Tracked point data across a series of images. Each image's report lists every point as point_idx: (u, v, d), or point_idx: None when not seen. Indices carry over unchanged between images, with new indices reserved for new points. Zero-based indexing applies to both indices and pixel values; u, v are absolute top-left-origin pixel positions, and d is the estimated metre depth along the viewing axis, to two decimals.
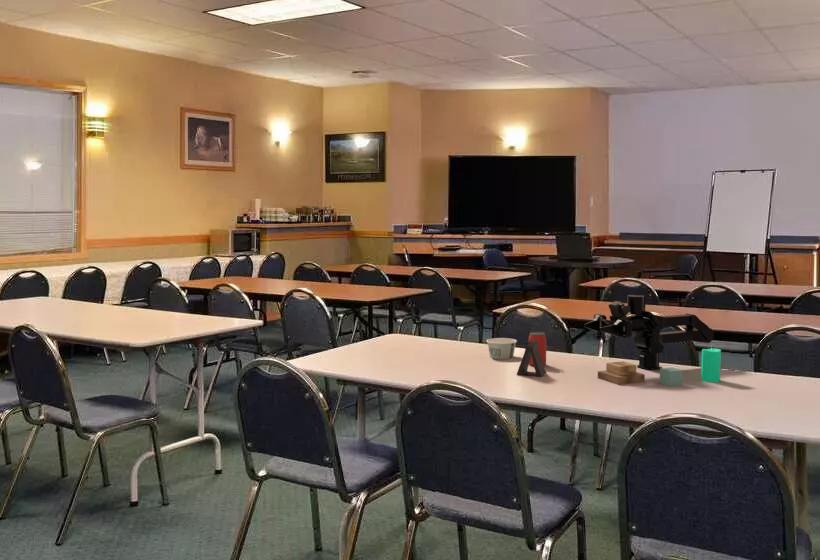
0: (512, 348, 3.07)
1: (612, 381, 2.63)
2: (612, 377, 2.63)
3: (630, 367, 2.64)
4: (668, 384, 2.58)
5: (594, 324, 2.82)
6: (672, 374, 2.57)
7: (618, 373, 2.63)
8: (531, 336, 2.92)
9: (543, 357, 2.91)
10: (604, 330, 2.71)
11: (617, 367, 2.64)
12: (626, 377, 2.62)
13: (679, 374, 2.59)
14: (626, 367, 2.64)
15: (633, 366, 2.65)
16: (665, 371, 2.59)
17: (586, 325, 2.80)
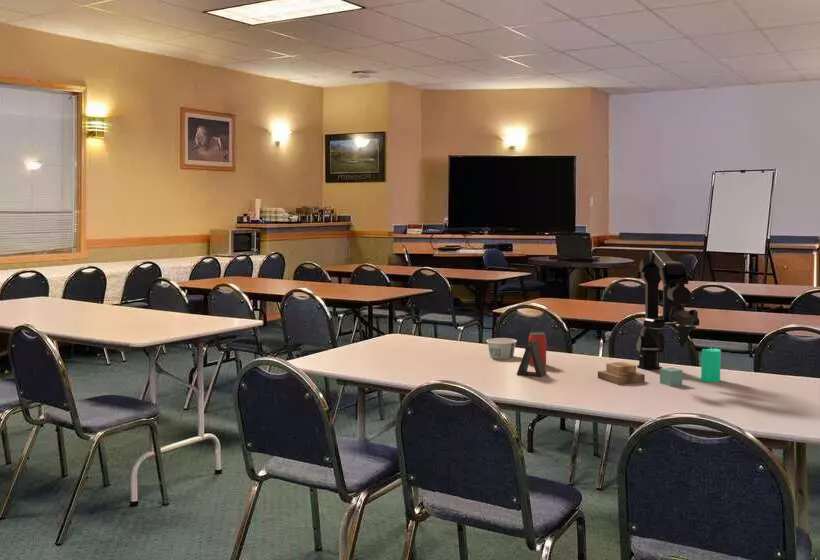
0: (512, 348, 3.07)
1: (612, 381, 2.63)
2: (612, 377, 2.63)
3: (630, 367, 2.64)
4: (668, 384, 2.58)
5: None
6: (672, 374, 2.57)
7: (618, 373, 2.63)
8: (531, 336, 2.92)
9: (543, 357, 2.91)
10: None
11: (617, 367, 2.63)
12: (626, 377, 2.62)
13: (679, 374, 2.59)
14: (626, 367, 2.64)
15: (633, 366, 2.65)
16: (665, 371, 2.59)
17: None
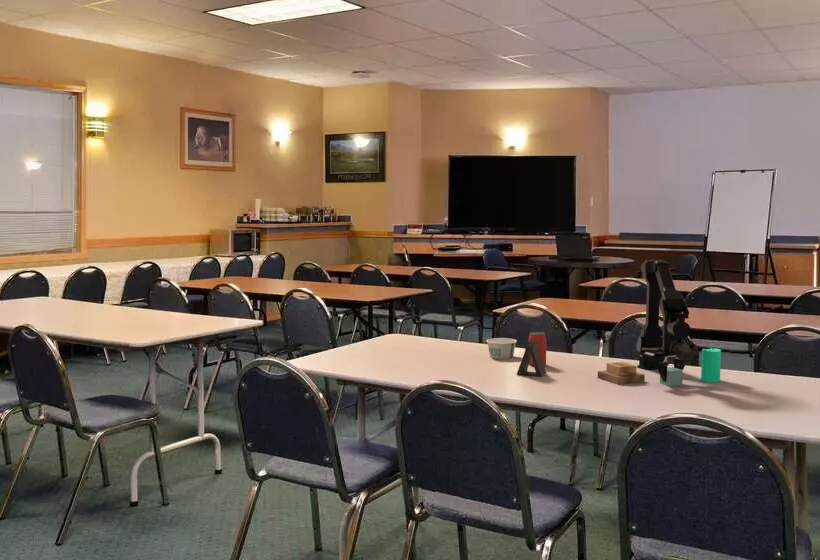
0: (512, 348, 3.07)
1: (612, 381, 2.63)
2: (612, 377, 2.63)
3: (630, 368, 2.64)
4: (668, 384, 2.58)
5: None
6: (672, 374, 2.57)
7: (617, 373, 2.63)
8: (531, 336, 2.92)
9: (543, 357, 2.91)
10: None
11: (616, 367, 2.63)
12: (626, 377, 2.62)
13: (679, 373, 2.59)
14: (626, 368, 2.63)
15: (633, 367, 2.64)
16: None
17: None
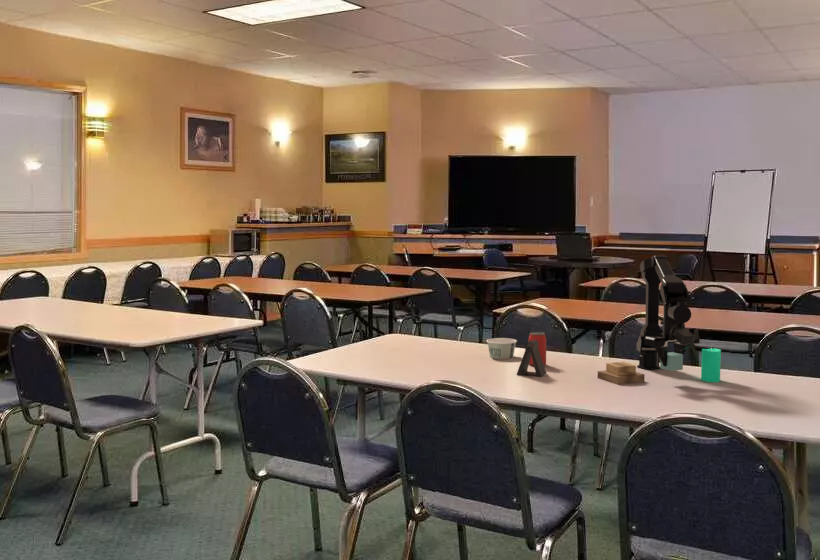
0: (512, 348, 3.07)
1: (612, 381, 2.63)
2: (612, 377, 2.63)
3: (629, 367, 2.64)
4: (668, 368, 2.58)
5: None
6: (672, 359, 2.57)
7: (617, 373, 2.63)
8: (531, 336, 2.92)
9: (543, 357, 2.91)
10: None
11: (616, 367, 2.63)
12: (626, 377, 2.62)
13: (680, 358, 2.58)
14: (625, 367, 2.63)
15: (632, 366, 2.64)
16: None
17: None
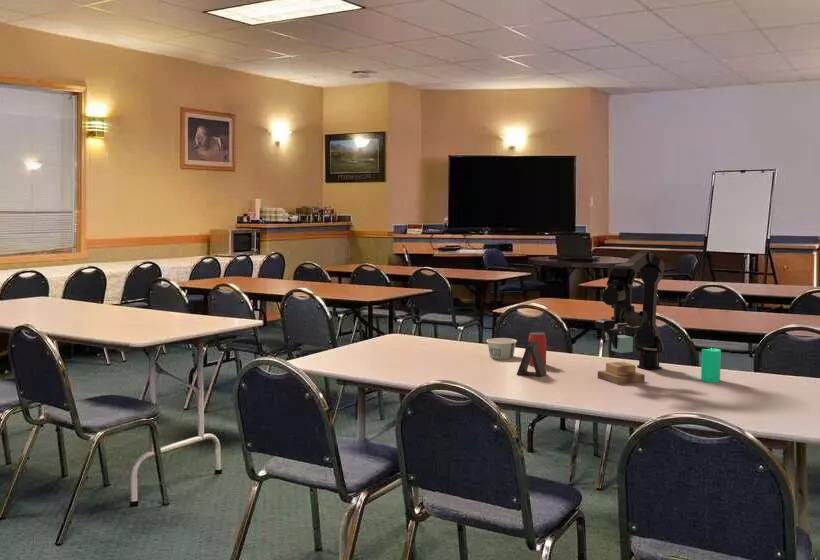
0: (512, 348, 3.07)
1: (612, 381, 2.63)
2: (612, 377, 2.63)
3: (629, 367, 2.64)
4: (619, 351, 2.64)
5: None
6: (622, 341, 2.63)
7: (616, 373, 2.64)
8: (531, 336, 2.92)
9: (543, 357, 2.91)
10: None
11: (615, 367, 2.64)
12: (626, 377, 2.62)
13: (630, 341, 2.64)
14: (624, 367, 2.64)
15: (632, 366, 2.65)
16: None
17: None
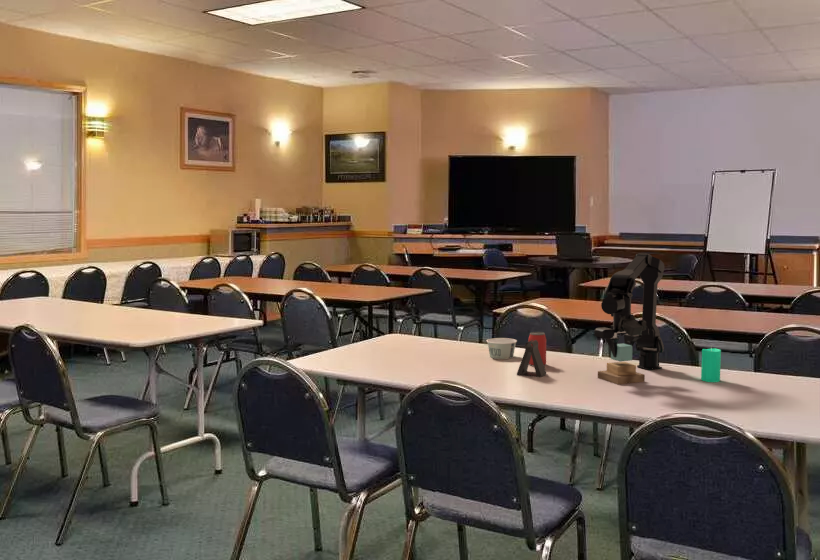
0: (512, 348, 3.07)
1: (612, 381, 2.63)
2: (612, 377, 2.63)
3: (629, 367, 2.64)
4: (618, 359, 2.64)
5: None
6: (622, 349, 2.64)
7: (616, 373, 2.64)
8: (531, 336, 2.92)
9: (543, 357, 2.91)
10: None
11: (615, 367, 2.64)
12: (626, 377, 2.62)
13: (629, 349, 2.65)
14: (625, 367, 2.64)
15: (632, 366, 2.64)
16: None
17: None
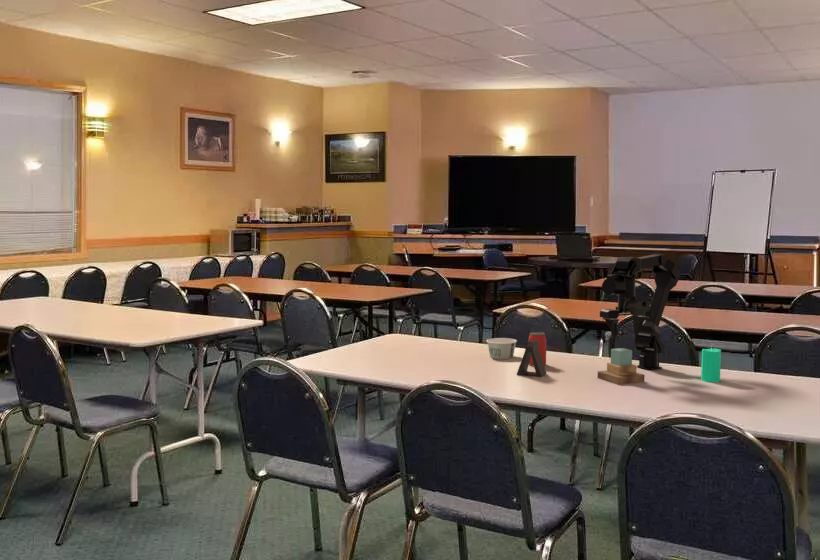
0: (512, 348, 3.07)
1: (612, 381, 2.63)
2: (612, 377, 2.63)
3: (630, 367, 2.64)
4: (618, 364, 2.65)
5: None
6: (621, 354, 2.64)
7: (617, 373, 2.64)
8: (531, 336, 2.92)
9: (543, 357, 2.91)
10: None
11: (616, 367, 2.64)
12: (626, 377, 2.62)
13: (629, 354, 2.65)
14: (626, 367, 2.64)
15: (633, 366, 2.65)
16: (615, 351, 2.66)
17: None
